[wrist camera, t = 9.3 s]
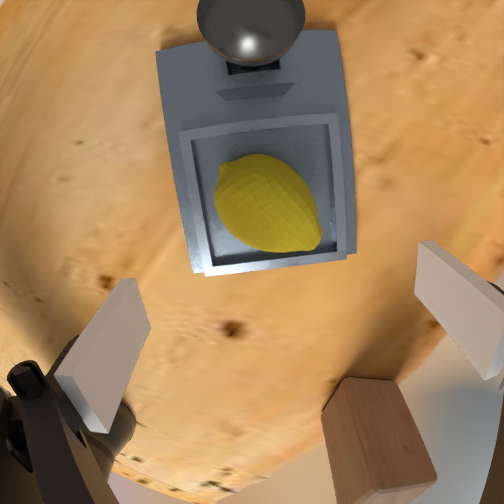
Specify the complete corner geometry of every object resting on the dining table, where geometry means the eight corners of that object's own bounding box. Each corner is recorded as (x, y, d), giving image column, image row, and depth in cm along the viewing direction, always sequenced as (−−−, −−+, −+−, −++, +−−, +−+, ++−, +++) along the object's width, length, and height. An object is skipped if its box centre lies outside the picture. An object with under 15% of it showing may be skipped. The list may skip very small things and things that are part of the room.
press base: (195, 267, 36) (176, 318, 26) (159, 54, 27) (121, 27, 17) (352, 248, 35) (386, 293, 25) (332, 33, 26) (365, -1, 16)
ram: (223, 91, 22) (203, 65, 12) (215, 34, 20) (192, -21, 10) (287, 83, 22) (312, 53, 12) (278, 27, 20) (296, -32, 10)
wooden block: (397, 378, 43) (442, 479, 25) (368, 417, 47) (398, 513, 28) (343, 373, 42) (378, 491, 24) (317, 415, 46) (336, 521, 27)
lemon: (198, 181, 31) (182, 199, 23) (258, 129, 29) (261, 129, 21) (270, 257, 34) (275, 295, 26) (327, 211, 32) (350, 237, 24)
